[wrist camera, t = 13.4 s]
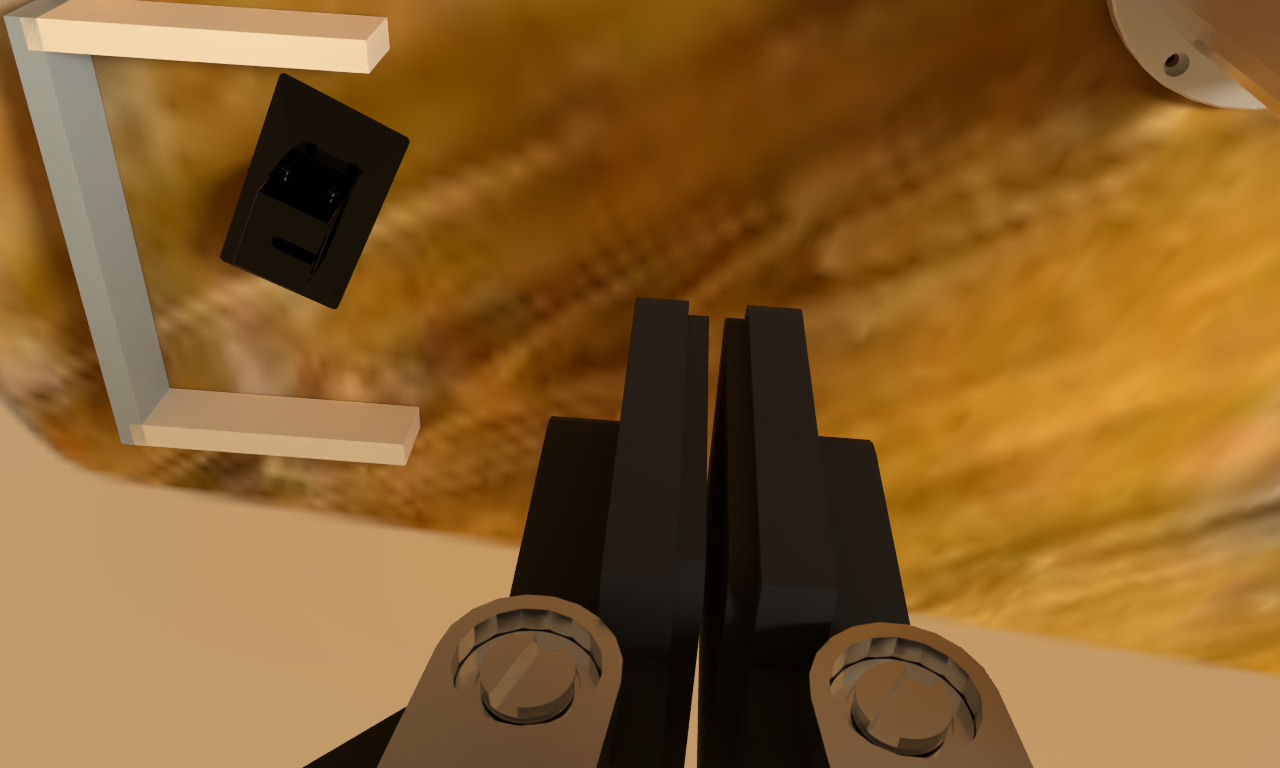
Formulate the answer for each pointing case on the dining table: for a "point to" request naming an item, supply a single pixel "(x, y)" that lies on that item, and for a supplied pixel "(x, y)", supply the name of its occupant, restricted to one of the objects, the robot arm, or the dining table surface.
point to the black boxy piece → (312, 192)
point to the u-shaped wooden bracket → (102, 234)
